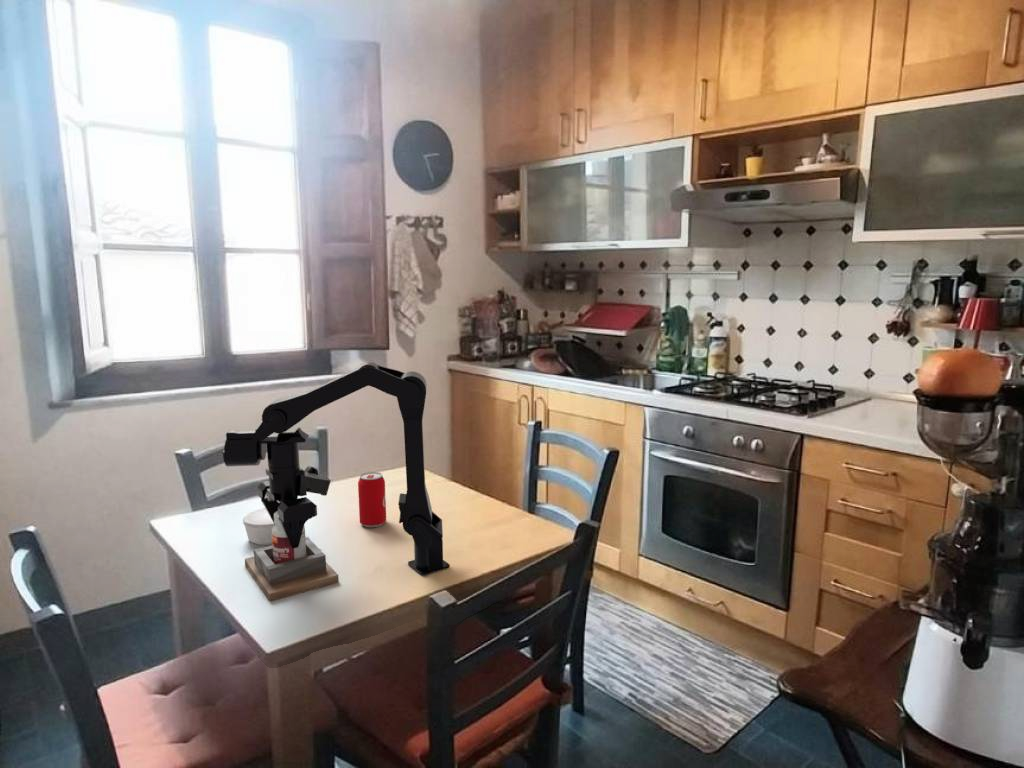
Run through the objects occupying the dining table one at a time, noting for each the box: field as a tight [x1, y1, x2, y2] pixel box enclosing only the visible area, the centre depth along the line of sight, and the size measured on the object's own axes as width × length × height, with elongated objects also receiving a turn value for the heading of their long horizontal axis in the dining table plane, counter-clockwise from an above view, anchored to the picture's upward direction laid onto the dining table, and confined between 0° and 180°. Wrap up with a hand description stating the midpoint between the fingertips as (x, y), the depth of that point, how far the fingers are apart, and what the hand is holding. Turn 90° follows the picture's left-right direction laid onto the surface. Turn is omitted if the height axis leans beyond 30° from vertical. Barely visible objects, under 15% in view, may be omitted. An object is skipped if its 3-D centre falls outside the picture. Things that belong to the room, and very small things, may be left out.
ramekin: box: [242, 507, 275, 546], centre depth 147 cm, size 11×11×5 cm
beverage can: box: [357, 471, 387, 528], centre depth 154 cm, size 6×6×12 cm
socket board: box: [244, 536, 340, 602], centre depth 129 cm, size 18×13×4 cm
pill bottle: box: [272, 511, 306, 564], centre depth 128 cm, size 6×6×11 cm
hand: (288, 540), depth 128 cm, fingers open, 8 cm apart
